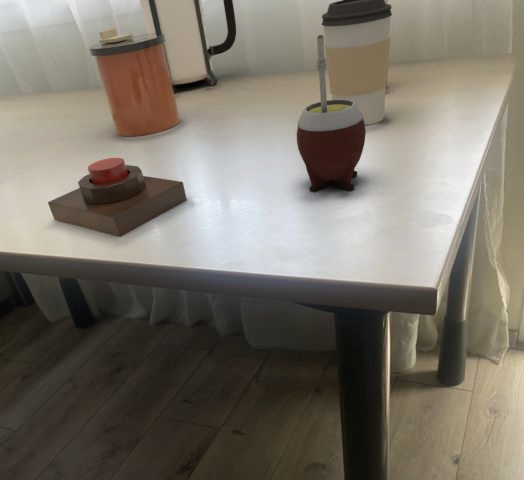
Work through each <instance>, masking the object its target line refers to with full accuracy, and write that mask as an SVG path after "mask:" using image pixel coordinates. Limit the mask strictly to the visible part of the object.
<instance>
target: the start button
mask: <svg viewBox="0 0 524 480" xmlns="http://www.w3.org/2000/svg"><path fill="white" fill-rule="evenodd" d="M126 165H127V164H126V161H125V159H124V158H123V157H109V158H105V159H104V158H103V159H101V160H97V161H94V162H93V163H91V164H90V165H88V166H87V171H88V174H90V177H91V180H92V183H93V184H105V183H111V182H115V181H118V180H121V179H123V178H125V177H127V176H128V172H127V168H126Z"/></svg>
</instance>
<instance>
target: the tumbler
mask: <svg viewBox="0 0 524 480" xmlns="http://www.w3.org/2000/svg"><path fill="white" fill-rule="evenodd" d="M132 37H133V38H130V39H126V40H122V41H119V42H113V43H100V42H99V43H95V44H93V45H91V46H89V47H88V50H89V54H90V56H92V57H94V59H95V63H96V67H97V71H98V74H99V77H100V80H101V84H102V87H103V91H104V94H105V97H106V101H107V104H108V107H109V111H110V114H111V115H110V116H111V118H112V121H113V124H114V128H115V132H116V134H117V136H120V137H139V136H146V135H152V134H157V133H159V132H163V131H166V130H168V129H171V128H173V127H175V126H177V125H178V124H179V123H180V121H181V120H180V114H179V110H178V105H177V101H176V97H175V92H174V91H173V87H172V82H171V78H170V73H169V69H168V64H167V60H166V55H165V51H164V46H163V43H164V42H165V41H166V40H165V36H164V34H163V33H151V34H148V33H143V34H136V35H132Z"/></svg>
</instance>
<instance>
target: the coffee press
mask: <svg viewBox="0 0 524 480" xmlns="http://www.w3.org/2000/svg"><path fill="white" fill-rule="evenodd" d="M139 2H140V3H139V4H140V6H141V11H142V15H143V19H144V24H145V29H146V32H147V33H146V34H151V33H163V34H164V36H165V40H166V41H165V42H164V43H163V46H164V51H165V55H166V60H167V64H168V69H169V73H170V78H171V82H172V87H173V91H174V93H175V92H176V89H177V87H178V86H180V85H183V84H190V83H194V82H198V81H204V82H206V83H207V84H208V85H209V86H211V87H213V86H215V85H217V84H218V78H217V76H216V75H215V74H214V72H213V61H212V57H213V56H217V55H220V54H224V53H226V52H228V51H229V50H230V49H231V48H232V47H233V45H234V44H235V42H236V37H237V24H236V23H237V22H236V16H235V15H236V14H235V7H234V2H233V0H223V2H222V3H223V9H224V14H225V20H226V27H227V34H226V38H225V40H224V41H223V42H222V43H220V44H216V45H212V46H211V45H210V44H209V37H208V33H207V28H206V22H205V17H204V10H203V4H202V0H139ZM208 77H210V78H211V79H210V78H208Z"/></svg>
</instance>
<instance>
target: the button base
mask: <svg viewBox="0 0 524 480" xmlns="http://www.w3.org/2000/svg"><path fill="white" fill-rule="evenodd" d="M125 165H126V168H127V172H128V176H127V177H125V178H123V179H121V180H118V181H115V182H111V183H105V184H93V183H92V180H91V177H90V174H89V173H88V174H86V175H84V176H83V177H81V178H80V179H79V180H78V181H77V184H78V188H75V189H74V190H71V191H70V192H67V193H65V194H63V195H60V196H58V197H56V198H54V199H51V200H49V201H47V205H48V207H49V210H50V212H51V214H52V217H53V219H54V221H58V222H62V223H64V224H68V225H72V226H75V227H80V228H83V229H88V230H93V231H96V232H98V233H99V232H100V233H104V234H108V235H110V236H116V237H119V238H122V237H123V236H125V235H126V234H128V233H131V232H132V231H134V230H136V229H137V228H139V227H141V226H143V225H145V224H147V223H148V222H150V221H152V220H154V219H156V218H157V217H160V216H161V215H163V214H164V213H165V214H166V213H167V212H168V211H170V210H173V209H174V208H175V207H177V206H179V205H182V204H183V203H185V202H186V201H188V198H187V194H186V189H185V185H184V182H183V181H180V180H173V179H167V178H161V177H153V176H147V175H144V174H143V171H142V169H141V168H140V167H139V165H138V166H137V165H132V164H125Z"/></svg>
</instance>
